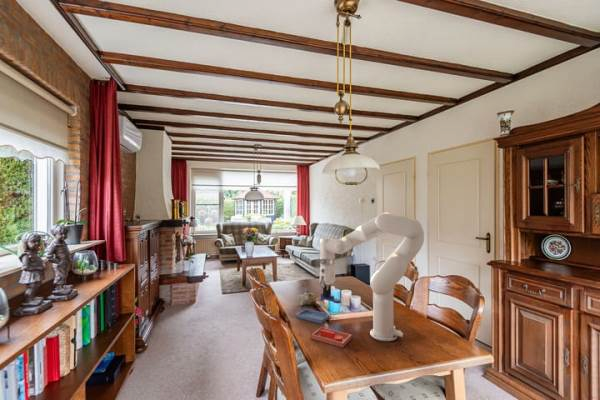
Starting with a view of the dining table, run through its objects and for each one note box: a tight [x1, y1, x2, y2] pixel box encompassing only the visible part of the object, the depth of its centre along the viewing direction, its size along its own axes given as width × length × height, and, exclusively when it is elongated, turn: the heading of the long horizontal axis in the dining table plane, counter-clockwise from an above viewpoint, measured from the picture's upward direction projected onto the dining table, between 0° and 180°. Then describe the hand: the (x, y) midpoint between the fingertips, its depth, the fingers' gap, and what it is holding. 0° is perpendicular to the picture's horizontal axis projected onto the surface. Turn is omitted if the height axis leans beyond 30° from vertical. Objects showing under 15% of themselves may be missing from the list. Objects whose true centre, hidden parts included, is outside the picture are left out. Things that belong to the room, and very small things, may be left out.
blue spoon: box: [320, 292, 342, 304], centre depth 146 cm, size 11×4×3 cm, turn 59°
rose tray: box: [310, 326, 353, 348], centre depth 133 cm, size 16×10×2 cm, turn 58°
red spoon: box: [321, 329, 342, 342], centre depth 133 cm, size 11×4×3 cm, turn 58°
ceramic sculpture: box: [297, 291, 318, 307], centre depth 180 cm, size 11×9×15 cm
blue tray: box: [295, 308, 331, 324], centre depth 159 cm, size 16×10×2 cm, turn 58°
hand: (326, 296), depth 147 cm, fingers closed on blue spoon, 1 cm apart
